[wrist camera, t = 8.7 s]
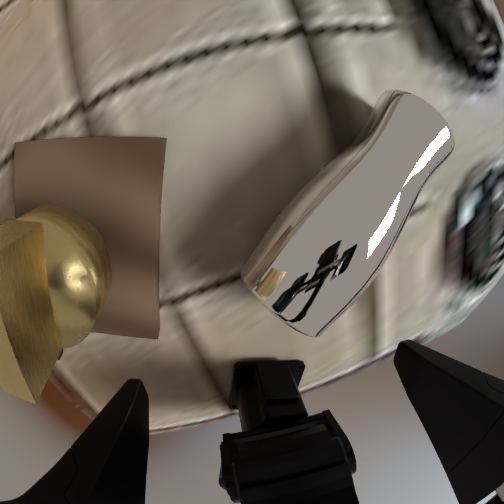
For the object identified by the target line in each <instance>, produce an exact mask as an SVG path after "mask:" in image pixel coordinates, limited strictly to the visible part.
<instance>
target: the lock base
mask: <svg viewBox="0 0 504 504" xmlns="http://www.w3.org/2000/svg"><path fill="white" fill-rule="evenodd" d="M166 140H167V138H154V137H79V138H60V139H46V140H35V141H25V142H17V143H15V147H14V202H15V217H16V219H17V218H19V217H20V216H22V215H24V214H26V213H28V212H30V211H32V210H34V209H36V208H38V207H41V206H45V205H59V206H63V207H66V208H69V209H71V210H73V211H75V212H77V213H78V214H80V215H81V216H83V217H84V218H85V219H86V220H87V221H88V222H89V223H90V224H91V225H92V226H93V227H94V228H95V230H96V231H97V232H98V234H99V235H100V237H101V239H102V240H103V242H104V244H105V246H106V249H107V251H108V254H109V257H110V262H111V267H112V283H111V289H110V292H109V295H108V297H107V299H106V301H105V303H104V305H103V307H102V309H101V311H100V313H99V315H98V317H97V318H96V321H95V323H94V325H93V327H92V329H91V331H90V332H97V333H104V334H112V335H120V336H129V337H138V338H149V339H158V336H159V330H160V314H159V237H160V213H161V196H162V182H163V170H164V159H165V149H166Z"/></svg>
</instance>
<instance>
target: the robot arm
mask: <svg viewBox="0 0 504 504" xmlns="http://www.w3.org/2000/svg"><path fill="white" fill-rule="evenodd" d="M394 365H395V367H396V370H397V372H398V374H399V376H400V379H401V381H402V384H403V386H404V389H405V391H406V393H407V395H408V397H409V400H410V401H411V403H412V405H413V407H414V409H415V411H416V413H417V415H418V416H419V418H420V420H421V422H422V424H423V426H424V428H425V430H426V432H427V434H428V436H429V438H430V440H431V442H432V444H433V446H434V448H435V450H436V453H437V455H438V457H439V459H440V461H441V463H442V465H443V468H444V470H445V472H446V474H447V476H448V479H449V481H450V483H451V486H452V488H453V490H454V493H455V495H456V497H457V500H458V502H459V504H476V503H478V502H479V501H481V500H482V499H483V498H485V497H486V496H488V495H489V494H490V493H491V492H493V491H494V490H495V491H496V493H497V494H496V495H495V496H493V498H491V499H490V500H489V501H488V502H487V503H486V504H504V380H502V379H499V378H497V377H494V376H492V375H489V374H487V373H485V372H482V371H480V370H478V369H475V368H473V367H471V366H468V365H466V364H464V363H462V362H459V361H457V360H455V359H453V358H450V357H448V356H446V355H443V354H441V353H439V352H437V351H434V350H432V349H430V348H428V347H425V346H423V345H421V344H419V343H416V342H414V341H412V340H409V339H408V340H404V341H401V342H400V343H399V344H398V347H397V350H396V353H395V355H394ZM298 366H299V367H298ZM240 367H241V368H240ZM304 369H305V364H304V362H303V361H286V362H239V363H236V364H235V365H234V369H233V376H232V383H231V390H230V397H229V408H230V409H238V410H239V416H240V422H241V427H242V432H238V433H233V434H230V433H226V434H223V442H221V445H220V451H221V468H220V475H219V484H220V486H221V487H222V488H224V489H225V490H227V493H228V494H229V495H230V498H231V500H232V501H233V502H234V503H239V502H240V503H241V504H359V501H358V498H357V495H356V492H355V488H354V483H353V479H352V474H354V473H355V472H356V459H355V455H354V452H353V449H352V446H351V444H350V442H349V440H348V438H347V436H346V435H345V433H344V432H343V430H342V429H341V427H340V426H339V424H338V423H337V421H336V420H335V418H334V417H333V415H332V414H331V412H330V410H325V411H322V413H318V414H315V415H312V416H308V413H307V411H306V408H305V405H304V403H303V400H302V398H301V395H300V392H299V390H298V386H299V383H300V380H301V377H302V375H303V372H304ZM148 449H149V399H148V394H147V392H146V389H145V387H144V384H143V382H142V380H141V379H129V380H127V381H126V383H125V384H124V385H123V386H122V387H121V388H120V390H119V391H118V392H117V393H116V394H115V395H114V397H113V398H112V399H111V400H110V401H109V402H108V404H107V405H106V406H105V407H104V408H103V409H102V411H101V412H100V413H99V414H98V415H97V416H96V418H95V419H94V420H93V421H92V422H91V424H90V425H89V426H88V427H87V428H86V429H85V431H84V432H83V433H82V434H81V435H80V437H79V438H78V439H77V440H76V441H75V442H74V444H73V445H72V446H71V448H69V449H68V451H67V452H66V453H65V454H64V455H63V457H62V458H61V459H60V460H59V461H58V462H57V463H56V464H55V465H54V466H53V467H52V468H51V469H50V470H49V471H48V472H47V473H46V474H45V475H44V476H43V477H42V478H41V479H40V480H39V481H37V482H36V483H35V484H34V485H33V486H32V487H31V488H30V489H29V490H28V491H26V492H25V493H24V494H23V495H21V496H20V497H18V498H16V499H13V500H9V501H2V502H0V504H145V489H146V473H147V460H148Z"/></svg>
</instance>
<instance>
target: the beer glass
mask: <svg viewBox="0 0 504 504" xmlns="http://www.w3.org/2000/svg"><path fill="white" fill-rule="evenodd" d="M454 145H455V142H454V136H453V133H452V131H451V129H450V127H449V125H448V124H447V122H446V121H445V119H444V118H443V117H442V116H441V114H440V113H439V112H438V111H437V110H436V109H434V108H433V107H432V106H431V105H430V104H428V103H427V102H426V101H424V100H423V99H421V98H419V97H417V96H415V95H413V94H411V93H408V92H405V91H401V90H388V91H385V92H384V93H382V94H381V95H380V97H379V98H378V100H377V102H376V104H375V106H374V108H373V111H372V113H371V115H370V117H369V119H368V121H367V123H366V125H365V126H364V128H363V129H362V131H361V132H360V134H359V135H358V136H357V137H356V138H355V139H354V140H353V142H352V143H351V144H350V145H349V146H348V147H347V148H345V149H344V150H343V151H342V152H341V153H340V154H339V155H338V156H337V157H336V158H335V159H333V160H332V161H331V162H330V163H329V164H328V165H327V166H326V167H324V168H323V169H322V170H321V171H320V172H319V173H318V174H317V175H316V176H315V177H314V178H312V179H311V180H310V181H309V182H308V183H307V184H306V185H305V186H304V187H303V188H302V189H301V190H300V191H299V192H298V193H297V194H296V195H295V196H294V197H293V199H292V200H291V201H290V202H289V203H288V205H287V206H286V207H285V208H284V209H283V211H282V212H281V213H280V214H279V216H278V217H277V218H276V220H275V221H274V222H273V224H272V225H271V227H270V228H269V229H268V231H267V232H266V234H265V235H264V237H263V238H262V240H261V241H260V243H259V244H258V246H257V247H256V249H255V250H254V252H253V253H252V255H251V257H250V258H249V260H248V261H247V263H246V264H245V265H244V267H243V268H242V269H241V277H242V279H243V281H244V283H245V284H246V286H247V287H248V289H249V290H250V291H251V293H252V294H253V295H254V296H255V297H256V298H257V299H258V300H259V301H260V302H261V303H262V304H263V305H264V306H265V307H266V308H267V309H268V310H269V311H270V312H271V313H273V314H274V315H275V316H276V317H277V318H279V319H280V320H281V321H283V322H284V323H286V324H287V325H289V326H290V327H292V328H293V329H295V330H297V331H299V332H300V333H303V334H305V335H307V336H311V337H320V336H321V335H322V334H323V332H324V331H325V330H326V329H327V328H329V327H330V326H331V325H332V324H333V323H334V322H335V321H336V320H337V319H338V318H339V317H340V316H341V315H342V314H343V313H344V312H345V311H346V310H347V309H348V308H349V307H350V306H351V305H352V304H353V303H354V302H355V301H356V300H357V299H358V298H359V297H360V295H361V294H362V293H363V292H364V291H365V290H366V289H367V287H368V286H369V285H370V284H371V282H372V281H373V280H374V278H375V277H376V276H377V274H378V273H379V271H380V270H381V269H382V267H383V265H384V264H385V262H386V260H387V259H388V257H389V255H390V254H391V252H392V250H393V248H394V246H395V244H396V242H397V240H398V238H399V236H400V234H401V232H402V230H403V228H404V226H405V224H406V222H407V220H408V218H409V215H410V213H411V211H412V209H413V207H414V205H415V203H416V200H417V198H418V196H419V194H420V193H421V191H422V189H423V187H424V186H425V184H426V183H427V181H428V180H429V178H430V177H431V176H432V174H433V173H434V172H435V171H436V170H437V169H438V168H439V167H440V166H441V165H442V164H443V162H444V161H445V160H446V159H447V158H448V157H449V156H450V155H451V153H452V152H453V149H454Z"/></svg>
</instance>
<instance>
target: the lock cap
mask: <svg viewBox="0 0 504 504" xmlns="http://www.w3.org/2000/svg"><path fill="white" fill-rule="evenodd" d="M111 283H112V267H111V262H110V257H109V254H108V251H107V249H106V246H105V244H104V242H103V240H102V239H101V237H100V235H99V234H98V232H97V231H96V230H95V228H94V227H93V226H92V225H91V224H90V223H89V222H88V221H87V220H86V219H85V218H84V217H83V216H81V215H80V214H78V213H77V212H75V211H73V210H71V209H69V208H66V207H63V206H59V205H45V206H41V207H38V208H36V209H34V210H32V211H30V212H28V213H26V214H24V215H22V216H20V217H19V218H17V219H15V220H13V219H10V220H8V221H7V222H5V223H3V224H1V225H0V384H1V386H2V388H3V390H4V392H5V393H8V394H10V395H13V396H15V397H18V398H21V399H23V400H26V401H28V402H31V403H34V404H37V402H38V399H39V397H40V395H41V392H42V390H43V388H44V386H45V384H46V382H47V379H48V377H49V375H50V373H51V371H52V369H53V367H54V365H55V363H56V361H57V360H60V358H61V356H62V354H63V348H68V347H72V346H74V345H77V344H78V343H80V342H81V341H83V340H84V339H85V338H86V337H87V335H88V334H89V332H90V331H91V329H92V327H93V325H94V323H95V321H96V318H97V317H98V315H99V313H100V311H101V309H102V307H103V305H104V303H105V301H106V299H107V297H108V295H109V292H110V289H111Z"/></svg>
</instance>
